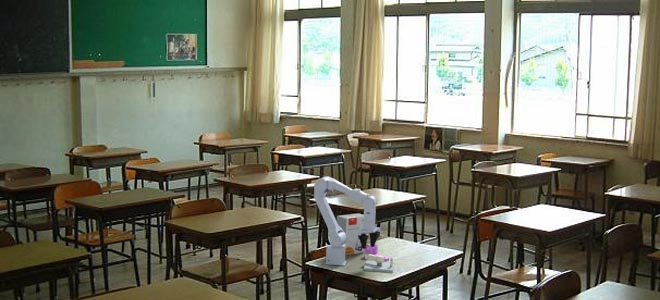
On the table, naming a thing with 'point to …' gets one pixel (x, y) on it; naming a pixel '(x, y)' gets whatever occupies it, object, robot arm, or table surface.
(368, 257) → the cream knobbed bar
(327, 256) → the robot arm
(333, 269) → the table surface
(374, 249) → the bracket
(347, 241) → the hard drive box
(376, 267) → the board
